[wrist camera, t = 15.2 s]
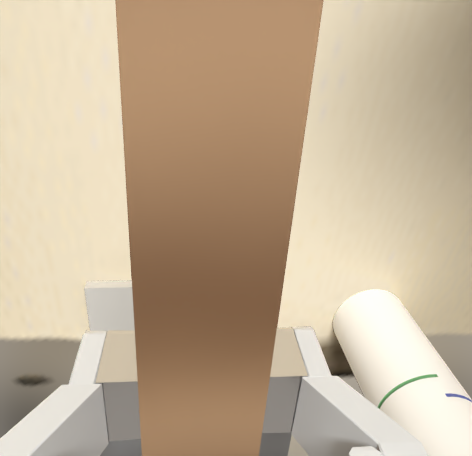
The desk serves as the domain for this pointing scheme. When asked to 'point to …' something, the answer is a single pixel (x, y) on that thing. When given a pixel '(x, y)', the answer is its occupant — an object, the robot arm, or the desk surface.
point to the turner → (210, 210)
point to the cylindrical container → (404, 372)
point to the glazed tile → (110, 305)
